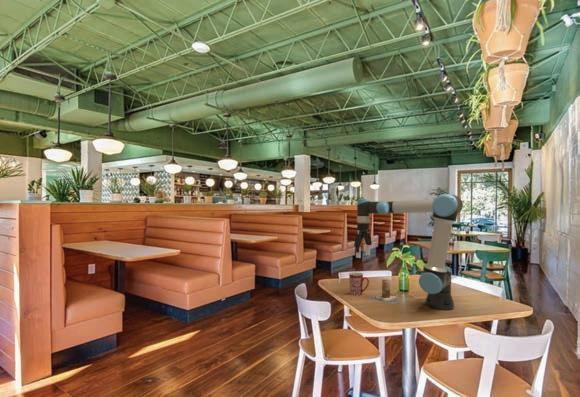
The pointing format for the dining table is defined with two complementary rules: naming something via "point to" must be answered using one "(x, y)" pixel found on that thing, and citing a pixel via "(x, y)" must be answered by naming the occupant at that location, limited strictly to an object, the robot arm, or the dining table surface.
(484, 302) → the dining table surface
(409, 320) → the dining table surface
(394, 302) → the mat
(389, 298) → the lid
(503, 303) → the dining table surface
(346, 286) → the dining table surface
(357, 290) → the mug
